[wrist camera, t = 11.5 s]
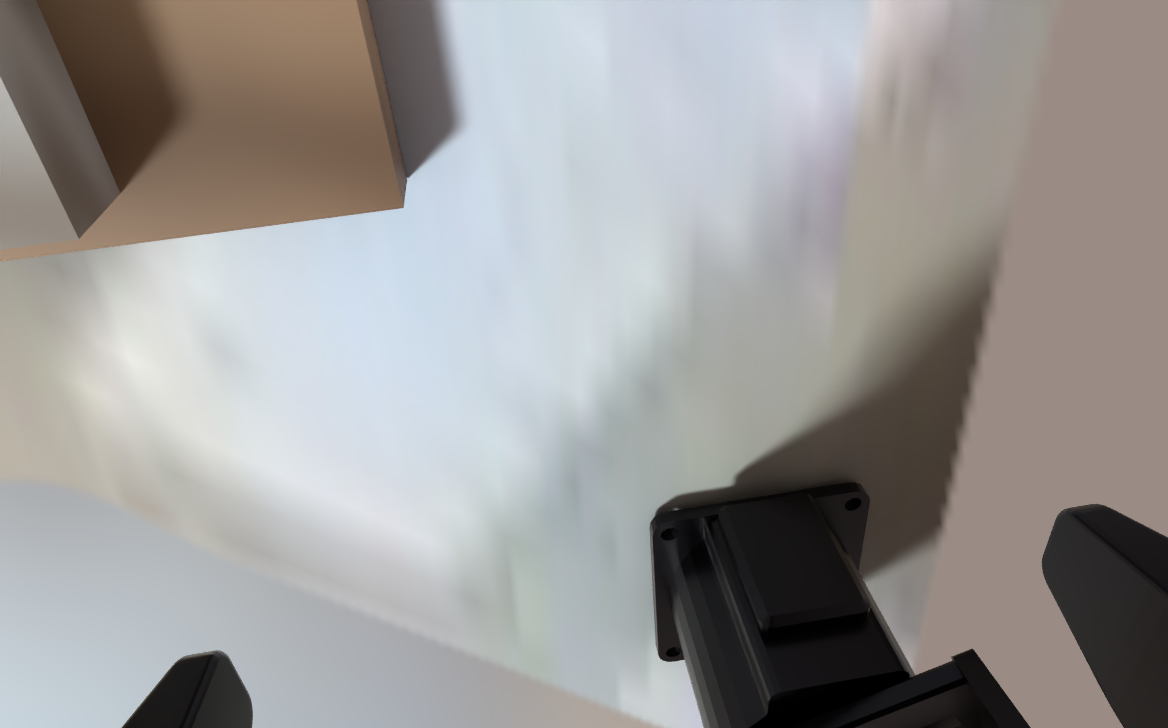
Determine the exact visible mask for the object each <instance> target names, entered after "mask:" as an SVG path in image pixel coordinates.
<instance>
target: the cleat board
mask: <svg viewBox="0 0 1168 728" xmlns="http://www.w3.org/2000/svg"><path fill="white" fill-rule="evenodd" d="M406 183H407V178H406V174H405V169H404V165H403V160H402V155H401V151H400V146H399V142H398V137H397V133H396V128H395V124H394V119H393V115H392V110H391V105H390V101H389V96H388V92H387V87H386V83H385V78H384V74H383V69H382V64H381V60H380V55H379V51H378V46H377V42H376V37H375V33H374V28H373V23H372V19H371V14H370V10H369V5H368V1H367V0H0V261H8V260H15V259H23V258H30V257H38V256H45V255H53V254H60V253H68V252H75V251H83V250H90V249H98V248H105V247H113V246H120V245H128V244H135V243H143V242H150V241H158V240H165V239H173V238H180V237H188V236H196V235H203V234H211V233H218V232H226V231H233V230H241V229H248V228H256V227H263V226H271V225H278V224H286V223H293V222H301V221H308V220H316V219H323V218H331V217H338V216H346V215H353V214H361V213H368V212H376V211H383V210H391V209H398V208H403V207H404V199H405V191H406Z"/></svg>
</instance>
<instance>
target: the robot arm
mask: <svg viewBox="0 0 1168 728" xmlns="http://www.w3.org/2000/svg"><path fill="white" fill-rule="evenodd" d="M852 498H853V499H852ZM850 499H851V500H850ZM848 500H849V501H848ZM869 502H870V501H869V496H868V495H867V493H866V491H865V490H864V488H863V487H862V486H861V484H858V483H855V482H854V483H843V484H837V485H831V486H825V487H819V488H813V489H806V490H800V491H794V492H788V493H782V494H775V495H769V496H763V497H757V498H751V499H745V500H738V501H732V502H726V503H720V504H714V505H707V506H701V507H695V508H689V509H683V510H677V511H670V512H665V513H662V514H659V515H658V516H656V517H655V518H654V519H653V520H652V521H651V523H650V544H651V562H652V581H653V600H654V619H655V637H656V647H657V651H658V655H659V657H660V659H662V660H663V661H667V662H672V661H679V660H685V662H686V666H687V669H688V673H689V677H690V680H691V684H692V687H693V691H694V694H695V698H696V701H697V705H698V709H699V712H700V716H701V719H702V723H703V726H704V728H1030V726H1029V725H1028V724H1027V722H1026V721H1025V720H1024V718H1023V717H1022V715H1021V714H1020V713H1019V711H1018V710H1017V709H1016V707H1015V706H1014V705H1013V703H1012V702H1011V700H1010V699H1009V698H1008V696H1007V695H1006V694H1005V692H1004V691H1003V690H1002V688H1001V687H1000V685H999V684H998V683H997V681H996V680H995V679H994V677H993V676H992V674H991V673H990V672H989V670H988V669H987V667H986V666H985V665H984V663H983V662H982V661H981V659H980V658H979V657H978V655H977V654H976V652H975V651H974V650H973V649H970V650H967V651H965V652H963V653H960V654H957V655H955V656H952V657H951V658H952V661H951V662H948V663H946V664H943V665H941V666H938V667H936V668H933V669H931V670H928V671H926V672H923V673H920V674H918V675H915V674H914V672H913V670H912V668H911V666H910V665H909V663H908V661H907V659H906V657H905V655H904V654H903V652H902V650H901V648H900V646H899V644H898V643H897V641H896V639H895V637H894V635H893V634H892V632H891V630H890V628H889V626H888V624H887V623H886V621H885V619H884V617H883V615H882V614H881V612H880V610H879V608H878V606H877V604H876V603H875V601H874V599H873V597H872V595H871V593H870V592H869V590H868V588H867V586H866V584H865V583H864V581H863V579H862V577H861V575H860V573H859V572H858V570H859V564H860V558H861V551H862V545H863V539H864V533H865V527H866V521H867V514H868V508H869ZM668 528H672V529H670V530H667V531H664V530H665V529H668ZM1042 569H1043V574H1044V578H1045V580H1046V583H1047V585H1048V587H1049V589H1050V590H1051V592H1052V594H1053V596H1054V598H1055V600H1056V602H1057V604H1058V606H1059V608H1060V610H1061V612H1062V614H1063V616H1064V617H1065V619H1066V622H1067V623H1068V625H1069V627H1070V629H1071V631H1072V633H1073V635H1074V637H1075V639H1076V641H1077V643H1078V645H1079V647H1080V649H1081V650H1082V653H1083V654H1084V656H1085V658H1086V660H1087V662H1088V664H1089V666H1090V668H1091V670H1092V672H1093V673H1094V676H1095V678H1096V680H1097V682H1098V684H1099V685H1100V687H1101V689H1102V691H1103V693H1104V695H1105V697H1106V698H1107V700H1108V702H1109V704H1110V706H1111V707H1112V709H1113V711H1114V712H1115V714H1116V716H1117V717H1118V719H1119V721H1120V722H1121V724H1122V725H1123V727H1124V728H1168V537H1166V536H1164V535H1162V534H1160V533H1158V532H1156V531H1154V530H1152V529H1150V528H1148V527H1146V526H1144V525H1143V524H1141V523H1139V522H1137V521H1134V520H1133V519H1131V518H1129V517H1127V516H1125V515H1123V514H1121V513H1119V512H1117V511H1115V510H1113V509H1111V508H1109V507H1107V506H1104V505H1100V504H1091V505H1084V506H1079V507H1072V508H1068V509H1064V510H1063V511H1061V512H1060V513H1059V515H1058V516H1057V518H1056V520H1055V523H1054V526H1053V529H1052V532H1051V535H1050V537H1049V540H1048V543H1047V546H1046V549H1045V552H1044V554H1043V558H1042ZM252 720H253V710H252V703H251V699H250V696H249V694H248V691H247V690H246V688H245V686H244V684H243V682H242V680H241V678H240V677H239V675H238V673H237V671H236V669H235V667H234V666H233V664H232V662H231V660H230V658H229V657H228V656H227V654H225V653H224V652H222V651H211V652H204V653H198V654H192V655H188V656H185V657H182V658H181V659H179V660H178V661H177V662H176V663H175V664H174V665H173V666H172V667H171V668H170V669H169V671H168V672H167V673H166V674H165V675H164V677H163V678H162V679H161V680H160V682H159V683H158V684H157V685H156V686H155V688H154V689H153V690H152V691H151V693H150V694H149V695H148V696H147V697H146V699H145V700H144V701H143V702H142V704H141V705H140V706H139V707H138V708H137V710H136V711H135V712H134V713H133V714H132V716H131V717H130V718H129V719H128V720H127V722H126V723H125V724H124V725H123V727H122V728H252Z"/></svg>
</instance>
